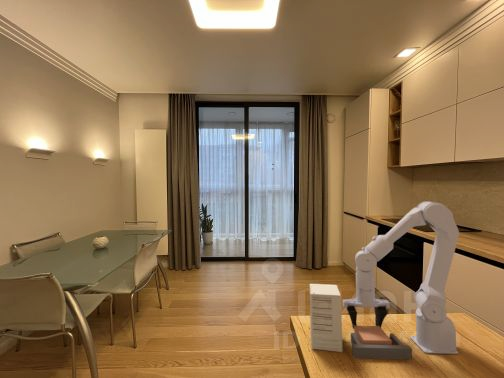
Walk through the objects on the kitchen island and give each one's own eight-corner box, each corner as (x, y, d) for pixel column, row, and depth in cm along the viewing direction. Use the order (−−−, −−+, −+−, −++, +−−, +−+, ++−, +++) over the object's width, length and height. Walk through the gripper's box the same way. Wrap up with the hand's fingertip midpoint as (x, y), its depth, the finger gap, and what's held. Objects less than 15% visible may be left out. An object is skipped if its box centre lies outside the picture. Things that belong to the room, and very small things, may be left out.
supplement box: (343, 353, 74) (341, 296, 74) (311, 349, 76) (309, 294, 76) (338, 334, 83) (337, 284, 83) (310, 332, 85) (309, 282, 85)
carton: (379, 338, 81) (379, 325, 81) (391, 354, 73) (391, 340, 73) (354, 337, 82) (354, 325, 82) (364, 353, 74) (363, 340, 74)
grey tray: (398, 343, 78) (398, 333, 78) (412, 359, 70) (411, 348, 70) (346, 342, 79) (345, 332, 79) (354, 357, 71) (353, 347, 71)
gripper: (382, 283, 86) (383, 322, 86) (339, 283, 87) (340, 321, 87) (392, 291, 79) (393, 334, 79) (345, 291, 80) (346, 333, 80)
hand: (366, 328), depth 83 cm, fingers open, 7 cm apart
